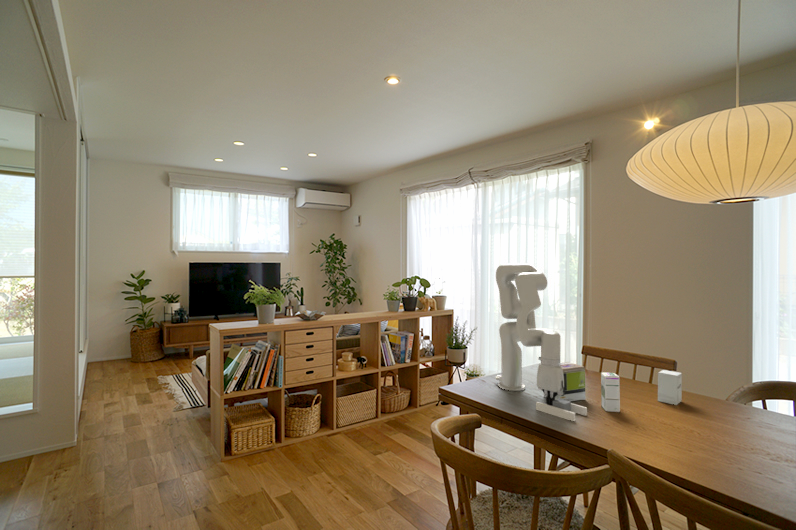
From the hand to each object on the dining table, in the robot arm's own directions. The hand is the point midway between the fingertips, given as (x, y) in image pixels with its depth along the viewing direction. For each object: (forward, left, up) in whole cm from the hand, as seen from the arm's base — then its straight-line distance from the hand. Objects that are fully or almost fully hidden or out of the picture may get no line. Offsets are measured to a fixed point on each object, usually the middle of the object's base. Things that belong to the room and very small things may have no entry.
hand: (550, 406), depth 165 cm
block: (+5, 0, -1) cm, 5 cm away
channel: (+4, 0, -1) cm, 5 cm away
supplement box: (+27, +49, -1) cm, 56 cm away
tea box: (-4, +17, -2) cm, 17 cm away
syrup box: (+15, +19, -1) cm, 25 cm away
